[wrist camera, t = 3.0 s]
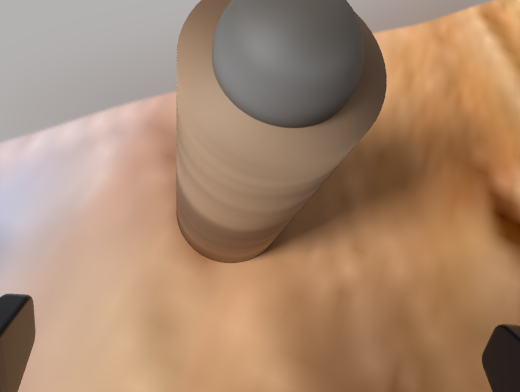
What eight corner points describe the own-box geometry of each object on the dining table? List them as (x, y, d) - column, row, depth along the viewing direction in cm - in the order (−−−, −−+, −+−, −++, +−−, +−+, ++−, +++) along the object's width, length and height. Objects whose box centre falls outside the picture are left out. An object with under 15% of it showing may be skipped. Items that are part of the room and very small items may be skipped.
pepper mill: (255, 281, 22) (382, 164, 8) (156, 233, 22) (125, 37, 8) (296, 190, 24) (454, -25, 10) (206, 145, 24) (245, -129, 10)
